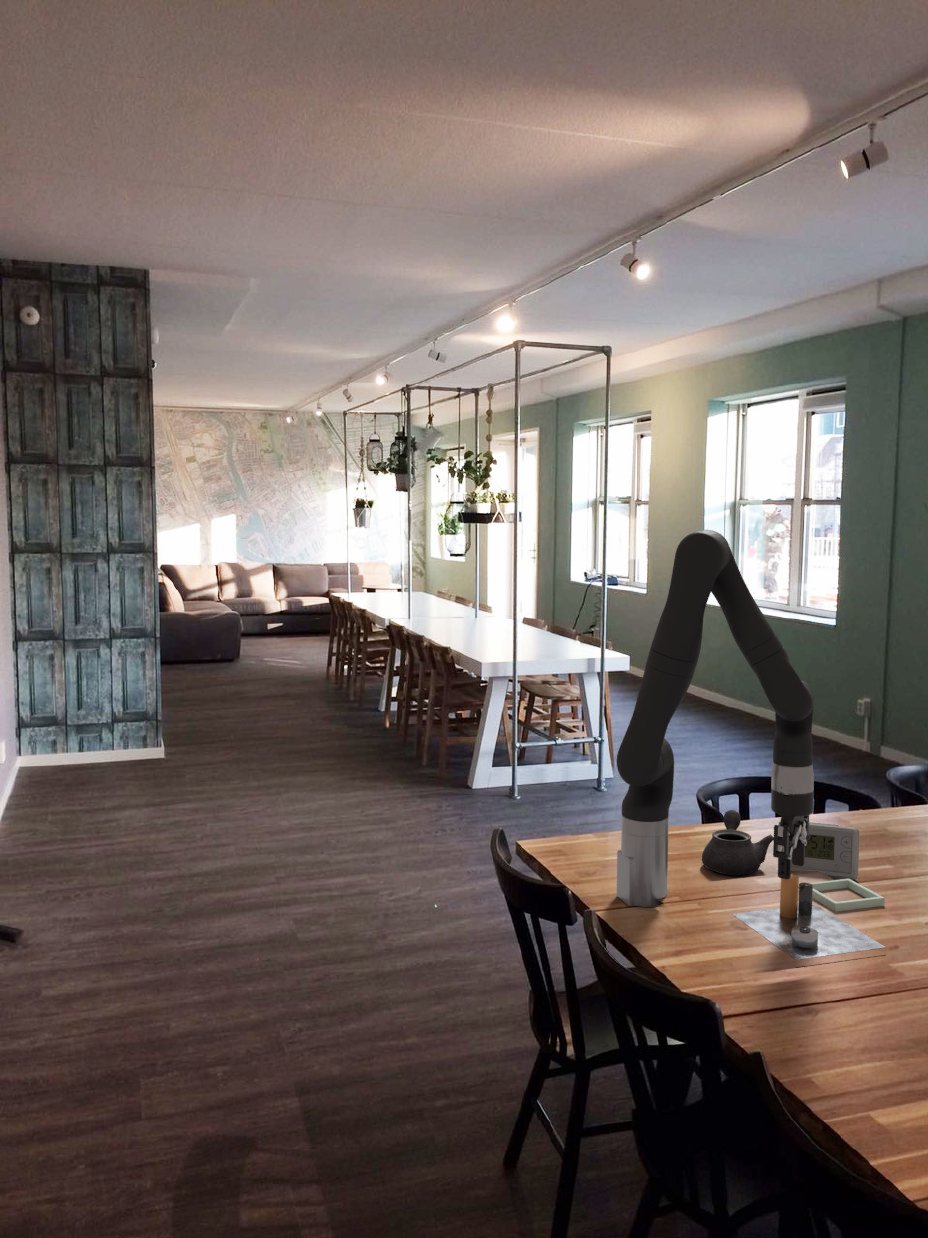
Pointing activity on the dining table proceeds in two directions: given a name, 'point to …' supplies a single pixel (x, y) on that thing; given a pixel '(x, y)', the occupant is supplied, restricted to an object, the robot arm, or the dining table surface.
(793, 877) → the pin
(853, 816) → the dining table surface
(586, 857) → the dining table surface
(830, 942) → the crank base
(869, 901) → the tray
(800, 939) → the crank
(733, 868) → the teapot
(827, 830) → the digital clock
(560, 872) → the dining table surface
